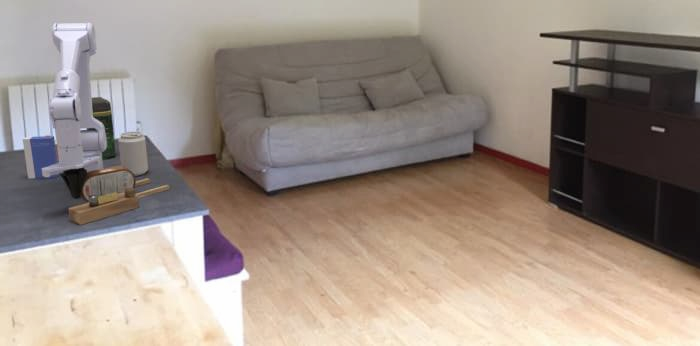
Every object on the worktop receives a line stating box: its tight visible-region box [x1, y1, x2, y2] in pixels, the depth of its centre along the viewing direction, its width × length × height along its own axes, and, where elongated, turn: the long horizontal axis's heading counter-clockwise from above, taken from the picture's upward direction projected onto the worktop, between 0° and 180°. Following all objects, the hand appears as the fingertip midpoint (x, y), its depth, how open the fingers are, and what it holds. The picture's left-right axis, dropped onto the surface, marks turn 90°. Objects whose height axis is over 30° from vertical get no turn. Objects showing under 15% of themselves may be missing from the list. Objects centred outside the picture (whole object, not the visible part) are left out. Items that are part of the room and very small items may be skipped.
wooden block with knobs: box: [68, 187, 140, 226], centre depth 171 cm, size 5×16×5 cm, turn 140°
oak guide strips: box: [135, 178, 170, 199], centre depth 188 cm, size 10×15×1 cm, turn 140°
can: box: [117, 130, 149, 177], centre depth 202 cm, size 8×8×12 cm
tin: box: [79, 165, 137, 203], centre depth 180 cm, size 15×3×8 cm, turn 131°
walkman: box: [22, 134, 60, 180], centre depth 199 cm, size 8×3×12 cm, turn 96°
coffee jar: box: [85, 96, 116, 160], centre depth 219 cm, size 10×8×19 cm
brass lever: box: [88, 192, 118, 206], centre depth 170 cm, size 7×2×2 cm, turn 138°
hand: (76, 197), depth 175 cm, fingers closed
